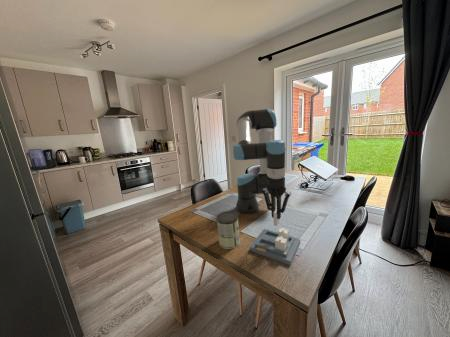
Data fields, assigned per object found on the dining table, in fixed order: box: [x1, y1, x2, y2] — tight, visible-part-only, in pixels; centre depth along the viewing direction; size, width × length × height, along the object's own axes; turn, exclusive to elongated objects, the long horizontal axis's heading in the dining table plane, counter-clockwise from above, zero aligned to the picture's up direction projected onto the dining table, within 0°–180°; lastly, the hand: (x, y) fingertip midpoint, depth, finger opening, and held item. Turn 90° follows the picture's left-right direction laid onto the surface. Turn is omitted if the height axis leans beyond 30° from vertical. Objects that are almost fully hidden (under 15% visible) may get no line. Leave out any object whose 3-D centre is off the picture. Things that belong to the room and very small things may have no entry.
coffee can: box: [215, 211, 241, 250], centre depth 87 cm, size 10×10×14 cm
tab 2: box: [275, 236, 287, 252], centre depth 77 cm, size 4×3×6 cm
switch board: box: [249, 228, 301, 266], centre depth 83 cm, size 18×16×3 cm
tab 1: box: [277, 227, 290, 242], centre depth 83 cm, size 4×3×6 cm
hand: (276, 224), depth 85 cm, fingers closed
